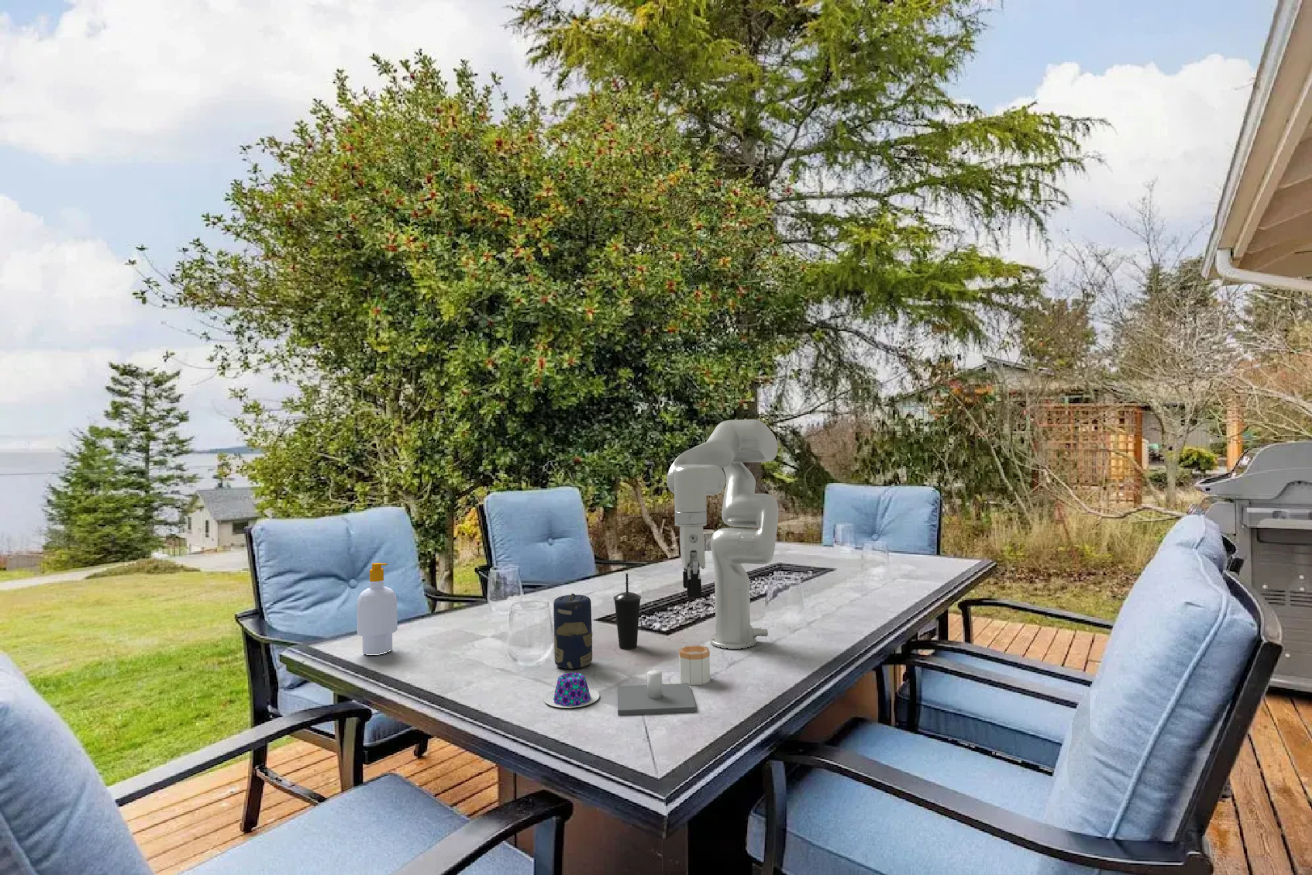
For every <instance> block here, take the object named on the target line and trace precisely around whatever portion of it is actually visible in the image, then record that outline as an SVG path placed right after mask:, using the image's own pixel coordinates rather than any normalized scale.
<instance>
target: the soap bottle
mask: <svg viewBox="0 0 1312 875" xmlns="http://www.w3.org/2000/svg"><path fill="white" fill-rule="evenodd" d="M382 566H388V563H382V562H372V563H371V568H370V569H369V587H368V588H365V589H364V590H363V591H361V592H360V593H359V595H358V598H357V600H356V634H357V636H360V637H362V654H363V653H364V654H380V653H384V652H388V651H389V650H392V651H393V634H394V633H395V632H397V631H398V599H397V595H396V593H395V591H394V590H393V589H392V588H390V587H388V586H385V574H384V573H385V572H384V570H385V569H384V568H383V567H382ZM364 654H363V655H364Z"/></svg>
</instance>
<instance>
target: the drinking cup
mask: <svg viewBox="0 0 1312 875" xmlns="http://www.w3.org/2000/svg"><path fill="white" fill-rule="evenodd" d="M612 599H613V600H614V609H615V617H616V628H617V637H618V647H619V649H622V650H634V649H636V648H637V647H638V637H639V636H638V633H639V622H640V621H639V620H640V608H641V600H642V595H640V594H637V593H636V592H633V591H632V592H631V591H629V573H625V591H623V592H620V593H618V594H616V595H614V596H613V598H612Z"/></svg>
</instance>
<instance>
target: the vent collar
mask: <svg viewBox="0 0 1312 875" xmlns="http://www.w3.org/2000/svg"><path fill="white" fill-rule="evenodd" d="M710 654H711V653H710V649H709V647H708V646H704V645H703V646H702V645H700V644H697V645H696V644H695V645H691V644H690V645H684V646H682V647H679V648H678V656H679V658H678V661H679V664H678V667H679V681H680V684H682V683H688V684H689V686H690V685H691V686H698V685H699V686H702V685H706V684H707V683H710V681H711V675H710V674H711V673H710V672H711V669H710V664H711V663H710V661H711V660H710V657H711V656H710Z"/></svg>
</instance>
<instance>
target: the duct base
mask: <svg viewBox="0 0 1312 875" xmlns="http://www.w3.org/2000/svg"><path fill="white" fill-rule="evenodd" d="M646 677H647V678H646V681H647V682H646V684H636V685H635V684H634V685H633V684H632V685H618V686H617V716H626V715H627V716H628V715H631V716H632V715H650V714H654V715H655V714H674V713H675V714H679V713H696V712H697V707H696V704H695V699H694V695H693V693H692V690H691V688H690V685H689V684H688V683H664V684H663V672H662V671H661V670H658V669H653V670H648V671H647V673H646Z"/></svg>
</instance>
